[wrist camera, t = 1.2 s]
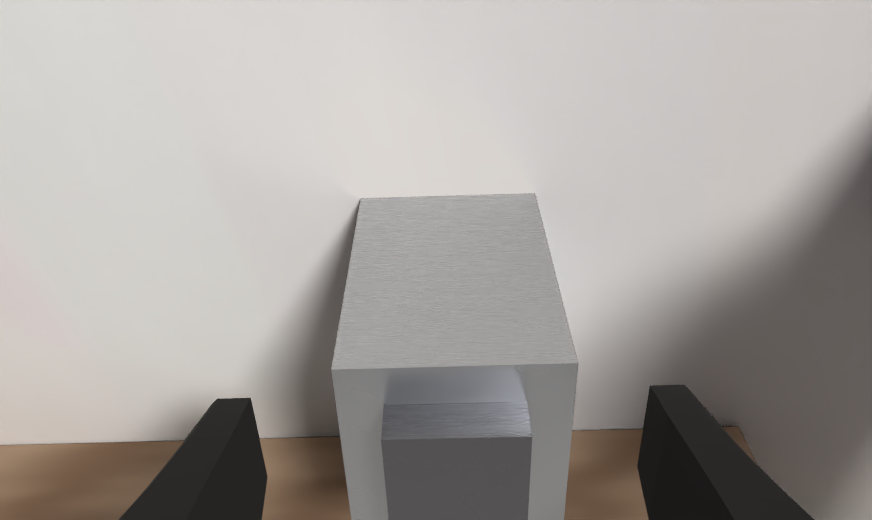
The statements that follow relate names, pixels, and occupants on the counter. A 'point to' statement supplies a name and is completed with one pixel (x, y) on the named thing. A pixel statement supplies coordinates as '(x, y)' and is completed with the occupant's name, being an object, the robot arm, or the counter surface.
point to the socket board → (285, 477)
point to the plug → (454, 362)
